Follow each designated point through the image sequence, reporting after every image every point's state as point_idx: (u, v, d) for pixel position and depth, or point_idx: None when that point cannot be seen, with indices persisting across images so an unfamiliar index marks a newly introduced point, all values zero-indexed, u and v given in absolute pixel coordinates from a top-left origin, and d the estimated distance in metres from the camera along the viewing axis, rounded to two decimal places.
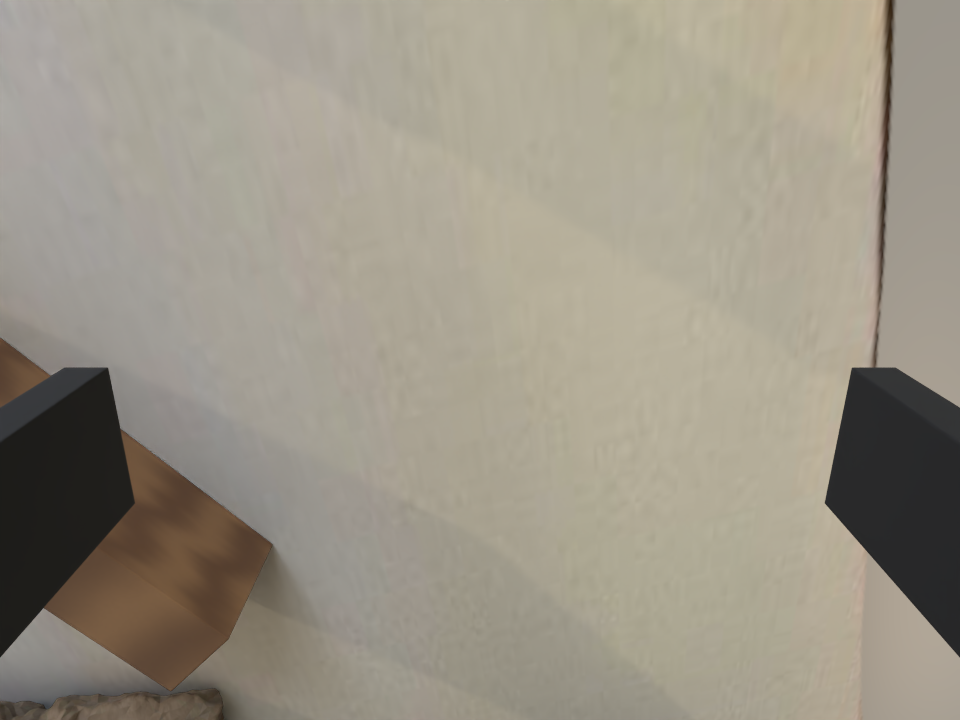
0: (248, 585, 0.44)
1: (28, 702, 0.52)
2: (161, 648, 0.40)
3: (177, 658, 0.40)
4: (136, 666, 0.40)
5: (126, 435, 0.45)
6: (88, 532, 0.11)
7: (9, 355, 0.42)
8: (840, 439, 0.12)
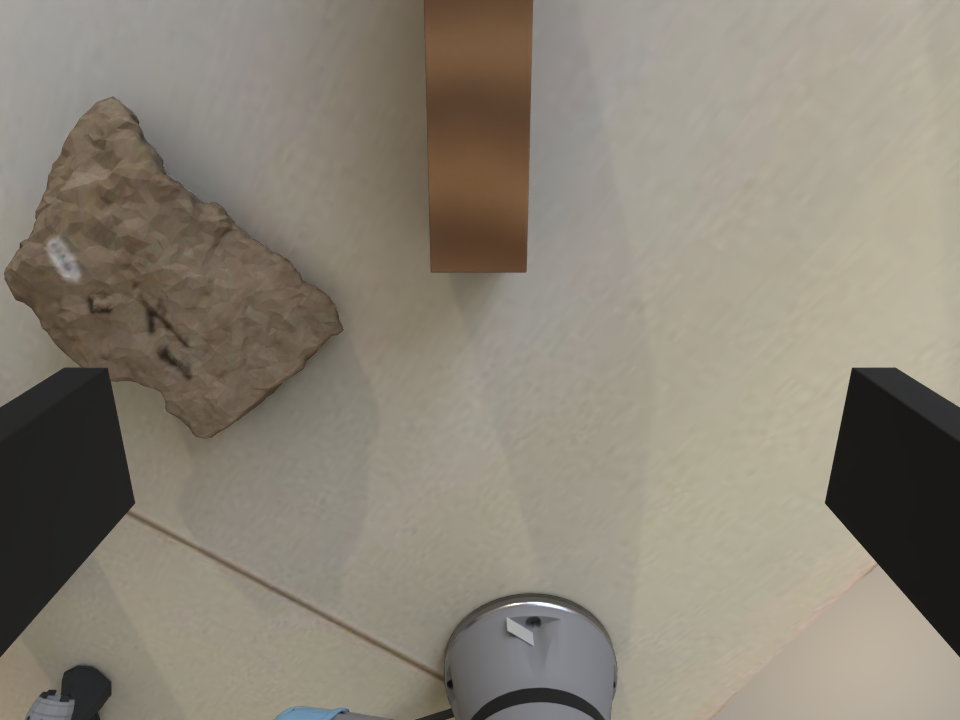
0: None
1: None
2: (470, 232, 0.39)
3: (471, 251, 0.40)
4: (433, 228, 0.39)
5: None
6: (87, 532, 0.11)
7: None
8: (840, 439, 0.12)
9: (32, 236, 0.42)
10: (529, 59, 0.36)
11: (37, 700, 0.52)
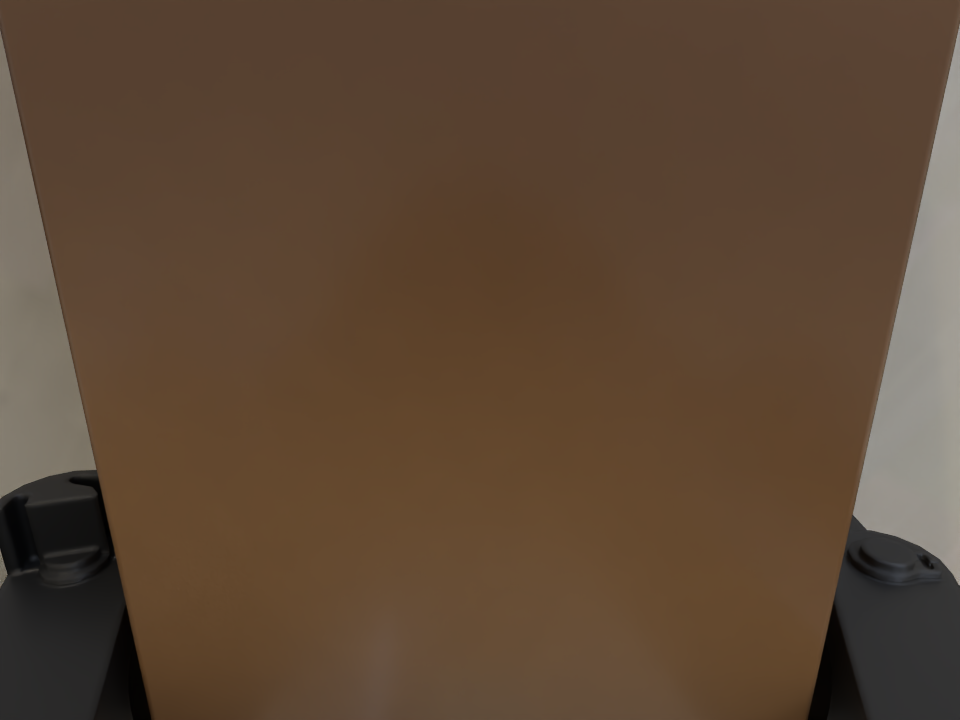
0: None
1: None
2: None
3: None
4: None
5: None
6: None
7: None
8: None
9: None
10: None
11: None
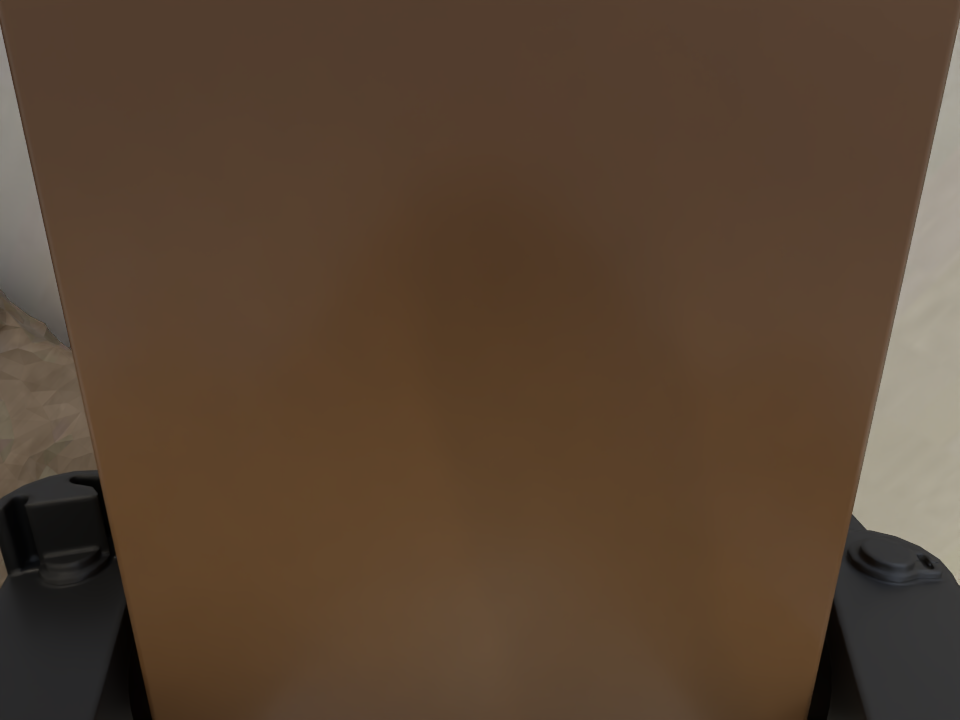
0: None
1: None
2: None
3: None
4: None
5: None
6: None
7: None
8: None
9: None
10: None
11: None
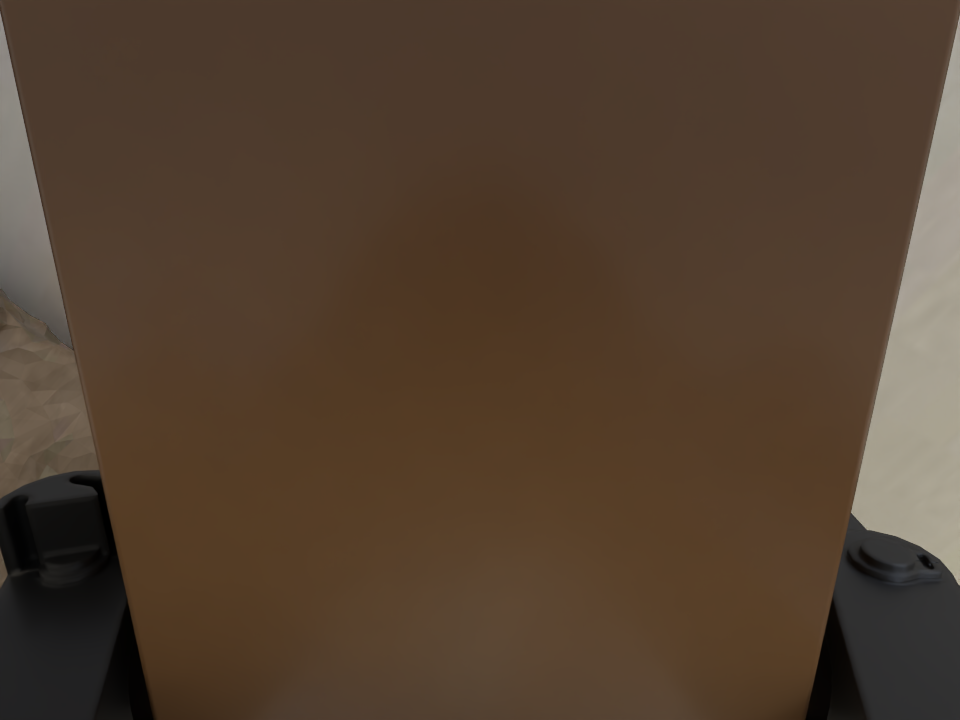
0: None
1: None
2: None
3: None
4: None
5: None
6: None
7: None
8: None
9: None
10: None
11: None
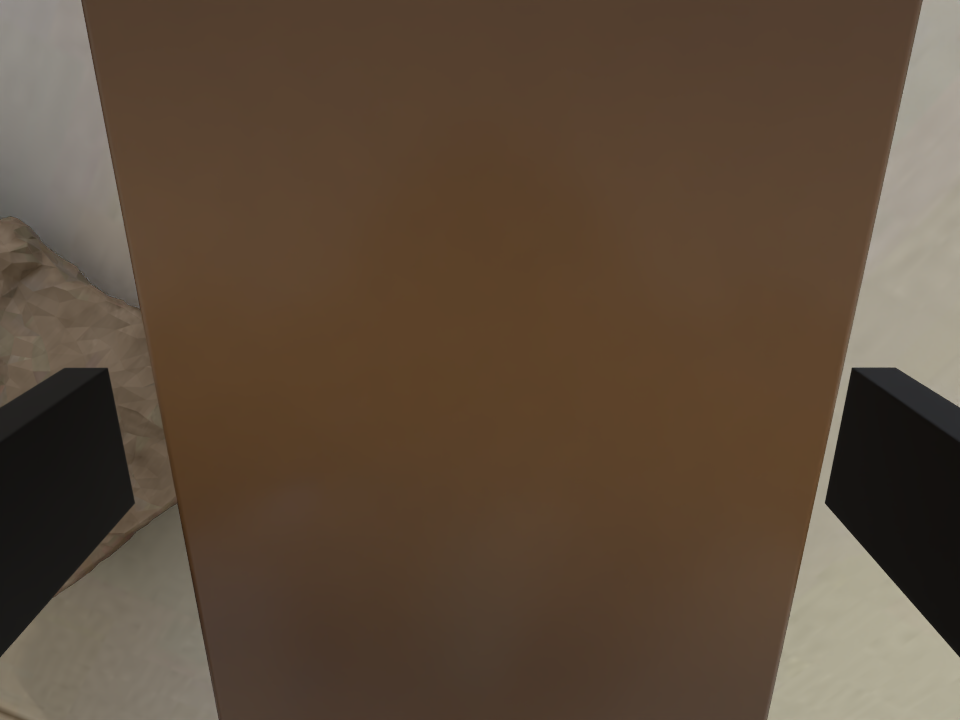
0: None
1: None
2: (446, 650, 0.07)
3: None
4: (220, 630, 0.07)
5: None
6: (87, 532, 0.11)
7: None
8: (840, 439, 0.12)
9: None
10: None
11: None
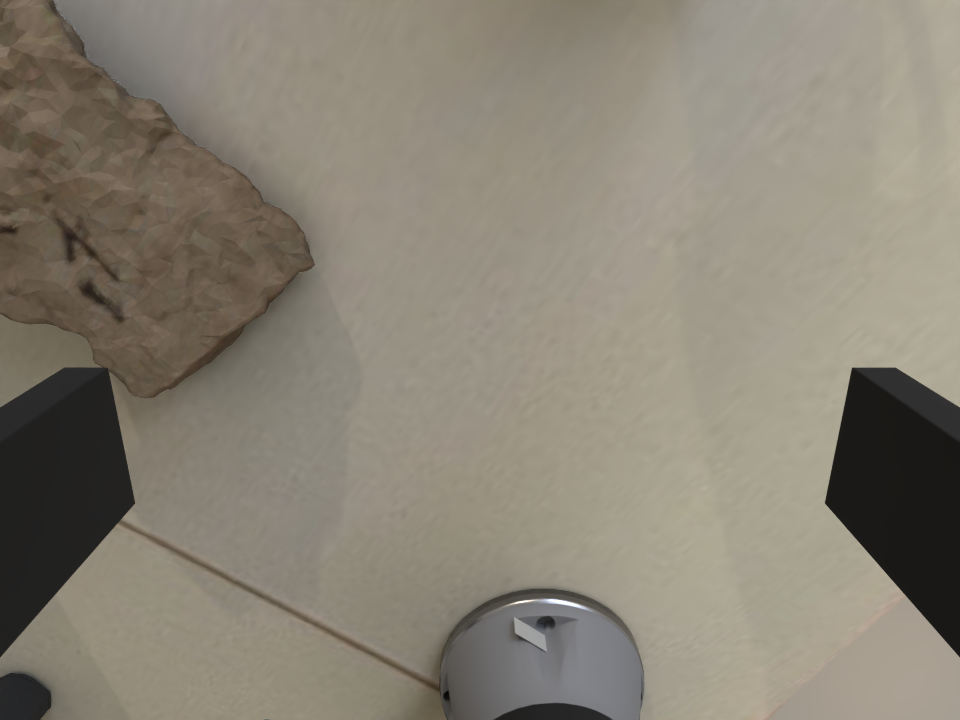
0: None
1: None
2: None
3: None
4: None
5: None
6: (87, 533, 0.11)
7: None
8: (840, 439, 0.12)
9: None
10: None
11: None
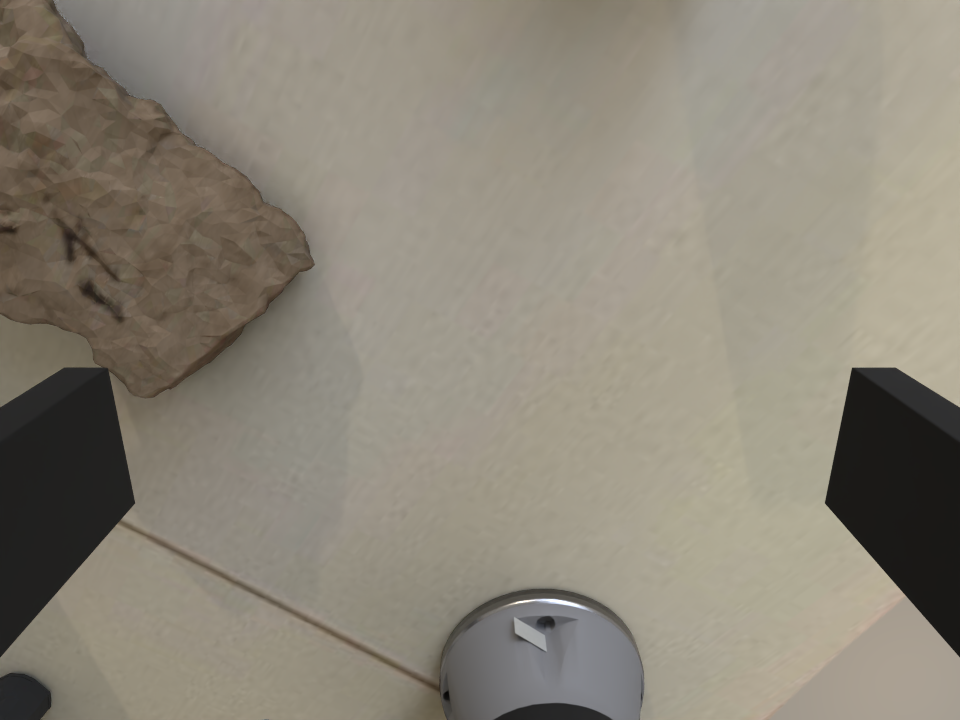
0: None
1: None
2: None
3: None
4: None
5: None
6: (87, 533, 0.11)
7: None
8: (840, 439, 0.12)
9: None
10: None
11: None
